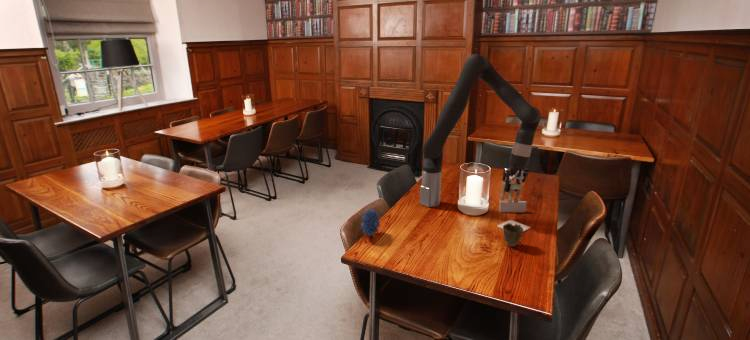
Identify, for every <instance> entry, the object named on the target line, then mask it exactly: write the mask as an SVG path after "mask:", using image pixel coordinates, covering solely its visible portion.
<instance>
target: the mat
mask: <svg viewBox="0 0 750 340" xmlns="http://www.w3.org/2000/svg"><path fill="white" fill-rule="evenodd" d="M508 223H509V224H511V223H512V225H514V226H515V224H517V225H520V226H521V227H522V229H523V232H522V233H524V232H525V231H528V230H529V229H531V226H529V225H526V224H523V223H521V222H518V221H515V220H512V219H508V220H506V221H504V222H502V223H500V224H498V225H497V226H496V227H497V228H499V229H502V230H503V226H505V224H506V225H507V224H508Z"/></svg>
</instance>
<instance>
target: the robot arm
mask: <svg viewBox="0 0 750 340" xmlns="http://www.w3.org/2000/svg"><path fill="white" fill-rule="evenodd" d="M478 78H479V79H480V80H482V81H483V82H484V83H486V84H487V85H488V86H489V87H490V88H491V89H492V90H493V91H494V93H495V94H496V95H497V97H498V98H499V99H500V101H502V102H503V103H504V104H505V105H506V106H507V107H508V108H509V109H511V111H512V112H513V113H514V115H515V116H516V117H517V118H518V119H519V120H520V121H521V123H520V127H519V128H518V130H517V132H516V134H515V140H514V143H513V146H512V148H511V153H510V156H509V161H508V163H509V167H508V168H506V167H504V168H503V173H502V182H503V183H504V182H505V183H506V184H505V188H504V191H505V193H508V192H509V191H510V187H511V183H512V182H514V180H515V183H517V184H520V185H523V183H526V180H527V178H528V175H529V173H530V169H529V168H526V167H528V165H529V161H530V158H531V153H532V147H533V144H534V143H533V142H534V138H535V134H536V131H537V129H538V126H539V123H540V120H541V116H542V115H541V111H540V109H539V108H537V107H536V106H532V105H531V104H530V103H529V102H528V101H527V100H526V99H525V97H524V96H523V94H522V93H520V91H518V90H517V89H516V88H515V87H514V86H513V85H512V84H510V83H509V82H508V81H507V80H506V79H505V78H504V77H503V76H502V75H501V74H500V73H499V72H498V71H497V70H496V68H495V67H494V66H493V64H492V63H491V61H490V60H489V58H487V57H486V56H484V55H483V54H479V53H472V54H471V55H469V56H468V57H467V58H466V59H465V61H464V63H463V67H462V68H461V71H460V74H459V76H458V78H457V81H456V83H455V85H454V86H453V88H452V89H451V92H450V94H449V96H448V97H447V99H446V101H445V103H444V105H443V106H442V108H441V111H440V113H439V116H438V118H437V120H436V123H435V126H434V128H433V130H432V132H431V133H430V135H429V137H428V138H426V140H425V141H424V142H423V144H422V154H423V159H422V168H421V169H422V170H421V185H420V189H419V205H422V206H425V207H427V208H431V207H434V208H435V207H438V206H439V205H440V203H441V190H442V189H441V187H442V169H443V156H444V146H445V145H446V142H447V139H448V138H449V136H450V134H451V132H452V131H453V129H454V128H455V127H456V126H457V123H458V122H459V121H460V119H461V117H462V116H463V114H464V112H465V111H466V108H467V106H468V102H469V98H470V93H471V90H472V88H473V86H474V84H475V83H476V81H477V79H478ZM516 191H517V189H515V190H514V192H516Z"/></svg>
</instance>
